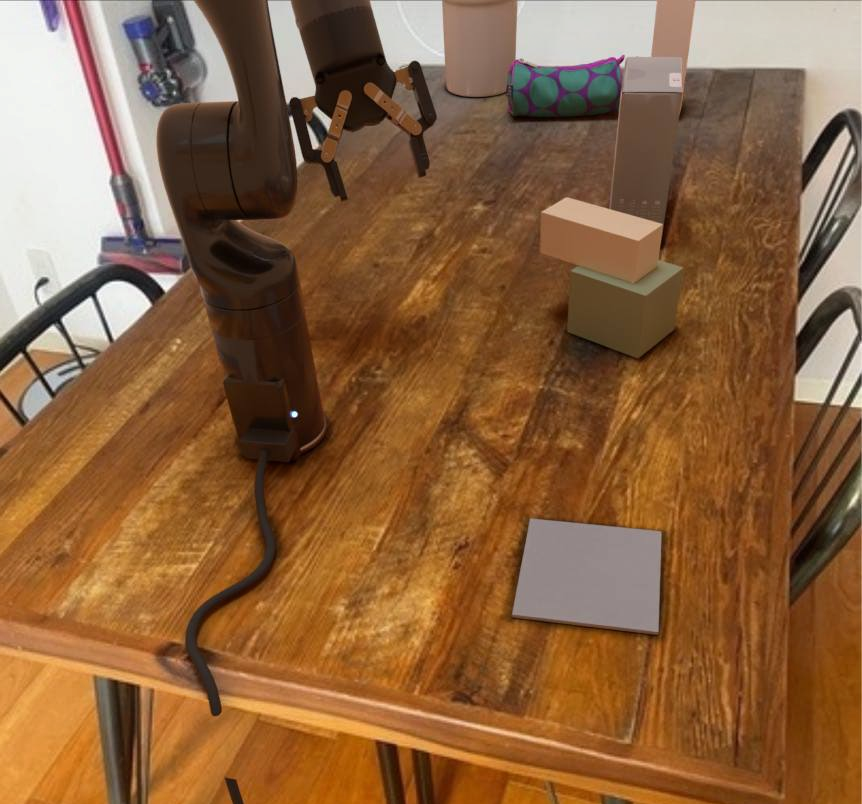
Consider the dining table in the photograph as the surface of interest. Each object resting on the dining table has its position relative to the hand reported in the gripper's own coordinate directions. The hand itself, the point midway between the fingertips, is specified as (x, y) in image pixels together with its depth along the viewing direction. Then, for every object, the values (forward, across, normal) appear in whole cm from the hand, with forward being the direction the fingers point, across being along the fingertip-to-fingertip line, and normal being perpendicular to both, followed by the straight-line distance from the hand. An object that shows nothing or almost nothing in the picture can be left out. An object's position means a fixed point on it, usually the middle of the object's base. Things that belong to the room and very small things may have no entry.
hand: (383, 188), depth 89 cm
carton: (+12, +22, +5) cm, 26 cm away
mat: (+37, +6, -27) cm, 46 cm away
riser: (+23, +23, +7) cm, 33 cm away
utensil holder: (-19, +31, +94) cm, 101 cm away
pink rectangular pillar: (-3, +57, +70) cm, 91 cm away
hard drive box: (+12, +36, +32) cm, 50 cm away
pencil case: (-8, +41, +75) cm, 86 cm away
